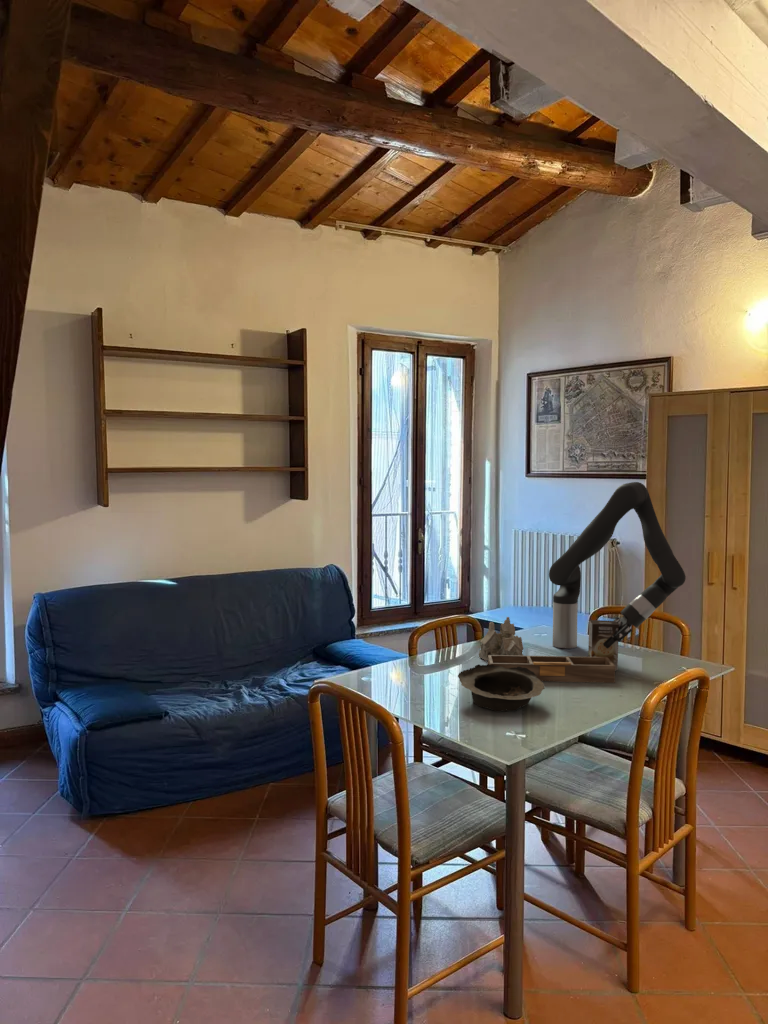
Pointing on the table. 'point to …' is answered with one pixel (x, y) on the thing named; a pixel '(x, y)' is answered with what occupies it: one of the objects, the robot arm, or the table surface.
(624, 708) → the table surface
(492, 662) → the brown wooden compartment tray
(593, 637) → the coffee box
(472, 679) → the stone bowl
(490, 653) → the ceramic cottage
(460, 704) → the table surface
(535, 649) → the table surface
